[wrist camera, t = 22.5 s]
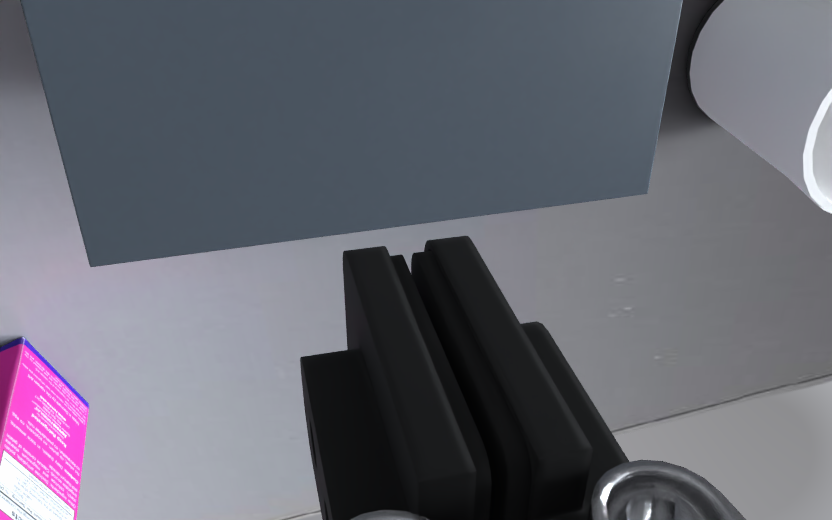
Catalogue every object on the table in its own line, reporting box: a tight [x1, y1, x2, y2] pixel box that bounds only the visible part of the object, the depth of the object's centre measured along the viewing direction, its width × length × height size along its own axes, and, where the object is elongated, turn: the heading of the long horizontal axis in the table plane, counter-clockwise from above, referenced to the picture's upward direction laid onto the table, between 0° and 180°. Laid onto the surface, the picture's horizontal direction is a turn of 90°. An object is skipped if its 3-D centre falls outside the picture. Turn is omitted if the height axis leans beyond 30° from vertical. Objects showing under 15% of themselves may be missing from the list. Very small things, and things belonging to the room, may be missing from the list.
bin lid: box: [20, 0, 683, 267], centre depth 23 cm, size 18×13×1 cm
